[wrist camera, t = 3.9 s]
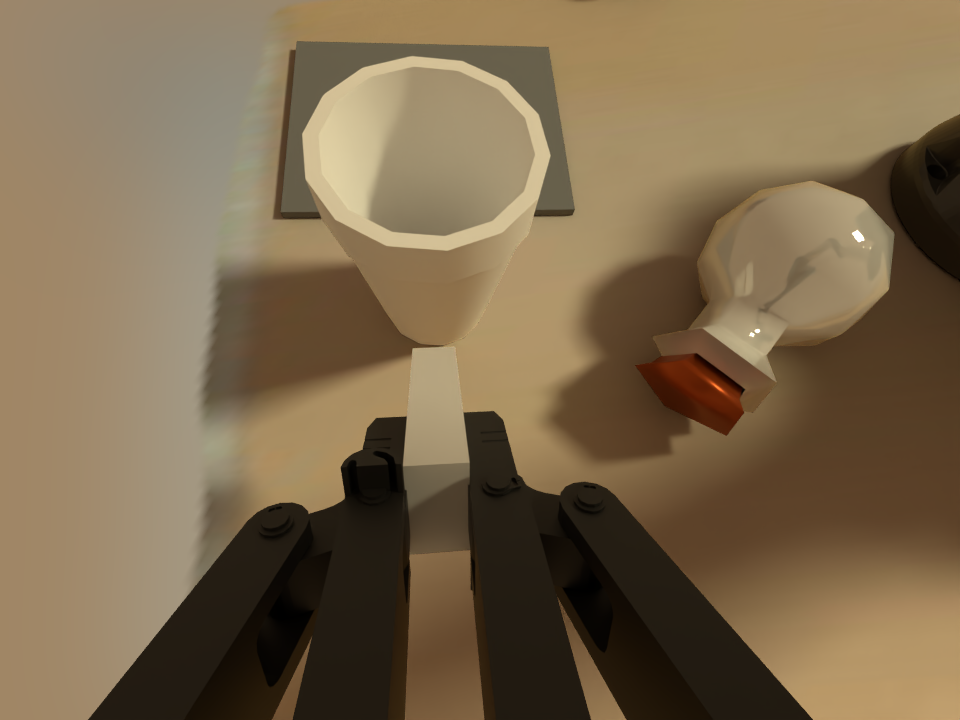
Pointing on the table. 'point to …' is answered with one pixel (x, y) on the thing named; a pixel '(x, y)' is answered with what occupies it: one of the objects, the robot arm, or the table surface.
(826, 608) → the table surface
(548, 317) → the table surface
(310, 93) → the mat
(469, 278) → the foam cup
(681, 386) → the potion bottle
